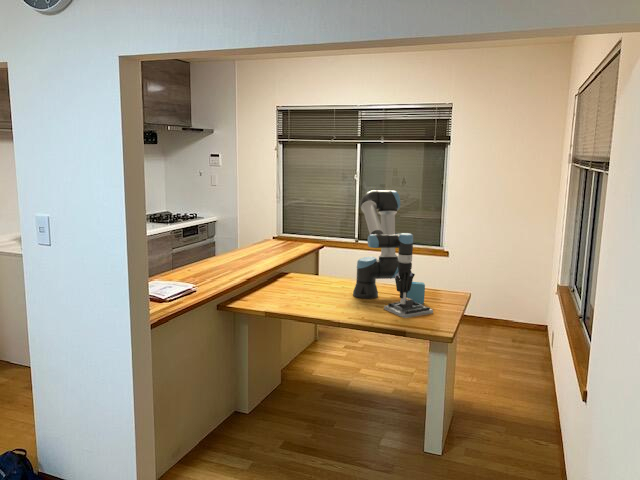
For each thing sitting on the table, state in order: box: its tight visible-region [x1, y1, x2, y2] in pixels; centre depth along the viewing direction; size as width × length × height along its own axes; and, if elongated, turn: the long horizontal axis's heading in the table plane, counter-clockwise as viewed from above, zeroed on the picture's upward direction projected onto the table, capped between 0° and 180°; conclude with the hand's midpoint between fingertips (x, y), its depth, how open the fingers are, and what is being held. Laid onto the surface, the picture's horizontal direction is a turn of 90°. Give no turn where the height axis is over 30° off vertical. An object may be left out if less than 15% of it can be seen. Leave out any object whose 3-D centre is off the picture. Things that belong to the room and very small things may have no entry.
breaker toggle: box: [401, 297, 413, 308], centre depth 295 cm, size 5×4×5 cm
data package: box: [407, 281, 426, 305], centre depth 313 cm, size 12×4×12 cm, turn 79°
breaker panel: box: [383, 301, 434, 319], centre depth 296 cm, size 18×20×4 cm
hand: (402, 303), depth 294 cm, fingers closed
